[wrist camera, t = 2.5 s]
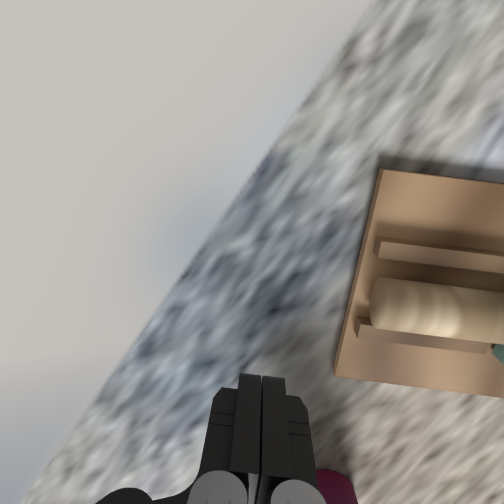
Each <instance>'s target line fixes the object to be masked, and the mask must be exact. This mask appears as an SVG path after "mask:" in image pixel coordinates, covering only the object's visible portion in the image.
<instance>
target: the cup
mask: <svg viewBox="0 0 504 504" xmlns="http://www.w3.org/2000/svg"><path fill="white" fill-rule="evenodd" d="M316 476H317V483H318V488H319V490H320V493H321V495H322V497H323V498H324V500H325V501H326V503H327V504H358V502H357V498H356V495H355V492H354V488H353V485H352V483H351V482H350V481H349V480H348V478H347V477H345V476H344V475H342V474H340V473H338V472H335V471H331V470H316Z"/></svg>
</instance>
